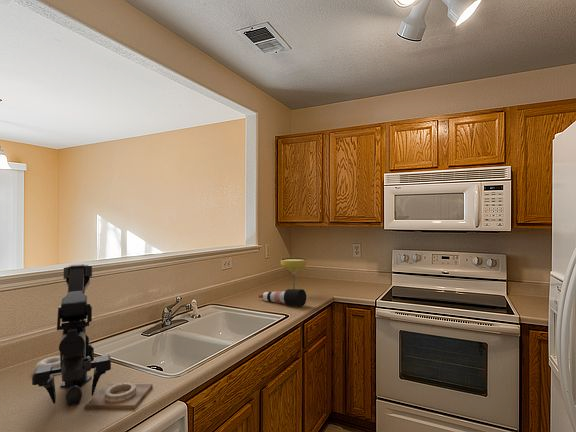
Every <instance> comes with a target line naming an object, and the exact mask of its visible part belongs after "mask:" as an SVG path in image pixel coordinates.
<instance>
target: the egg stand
mask: <svg viewBox="0 0 576 432" xmlns="http://www.w3.org/2000/svg"><path fill="white" fill-rule="evenodd" d="M152 389H153V384H152V383H133V382H130V381H128V382H127V381H124V382H119V383H108V384H106V385H105V386H104V387H103V388H102V389H101V390H100V391H99V392H98V393H96V394H95V395H94V396H93V397H92V398H91V399H90V400H89V401H88V402H87V403H85V404H84V410H135V409H136V408H137V407H138V405H140V403H141V402H142V401H143V399H145V397H146V396H147V395H148V393H149V392H150V391H151V390H152Z"/></svg>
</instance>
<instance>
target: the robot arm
mask: <svg viewBox="0 0 576 432" xmlns="http://www.w3.org/2000/svg"><path fill="white" fill-rule="evenodd" d="M91 278H93V266H91V265H89V264H84V263H83V264H71V265H67V267H63V280H65V282H66V287H68V288H67V294H65V296H64V297H62V298H61V304H60V305H59V306H58V308H57V310H58V311H57V324H56V331H61V332H62V334H61V335H62V336H61V339H60V342H59V345H58V351H59V356H60V368H55V369H52V365H48V366H43V367H38V368H37V369H36V370H35V369H34V372H33V375H32V378H31V383H32V386H38V387H40V388H41V387H42V388H45V390H46V391H47V393H48V395H49V397H50V399H51V402H52V404H53V405H54V404H56V400H57V399H56V398H57V396H56V395H57V394H56V385H55V377H56V376H61V381H62V382H63V383H62V384H60V388H70V387H72V386H74V385H77V386H79V387H80V388H81V387H82V386H84V384H86V383H87V382H88V381H89V380H91V379H92V384H91V395H92V396H94V394H95V391H96V389H97V384H98V382H99V380H100V378H101V376H102V375H105V374H106V373H107V372H108V371H110V370H112V359H111V358H112V357H111V356H110V355H109V354H105V355H99V356H95V348H94V347H93V345H92V343H90V338H89V337H88V335H87V333H86V332H87V331H86V330H87V328H86V327H89V326H90V323H92V321H93V314H92V313H93V307H92V306H91V303H90V302H89V303H88V296H87V294H85V293H86V290H87V289H88V287H89V285H90V283H91ZM94 357H95V358H94ZM92 369H94V370H93V378H92V376H91V375H88V372H91V371H92Z"/></svg>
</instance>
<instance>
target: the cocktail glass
mask: <svg viewBox="0 0 576 432" xmlns="http://www.w3.org/2000/svg"><path fill="white" fill-rule="evenodd" d="M307 262H308V260H307V259H306V258H300V257H289V258H288V257H287V258H281V259H280V265H281V266H282V267H283V269H286V270H287V271H289V272H291V274H292V276H293V277H292V278H293V282H292V283H293V284H292V285H293V286H292V287H293V288H292V289H295V274H297V272H298V271H300V270H301V269H302V270H303V268H305V267H306V266H307Z"/></svg>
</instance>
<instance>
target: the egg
mask: <svg viewBox="0 0 576 432" xmlns="http://www.w3.org/2000/svg"><path fill="white" fill-rule="evenodd" d="M68 388H69V389H68V390H67V391H66V394H65V400H64V401H65V404H67V405H68V406H70V407H71V406H76V405H78V404H79V403H80V402H81V401H82V398H83V391H82V389H81V387H79V386H77V385H74V386H72V387H68Z"/></svg>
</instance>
